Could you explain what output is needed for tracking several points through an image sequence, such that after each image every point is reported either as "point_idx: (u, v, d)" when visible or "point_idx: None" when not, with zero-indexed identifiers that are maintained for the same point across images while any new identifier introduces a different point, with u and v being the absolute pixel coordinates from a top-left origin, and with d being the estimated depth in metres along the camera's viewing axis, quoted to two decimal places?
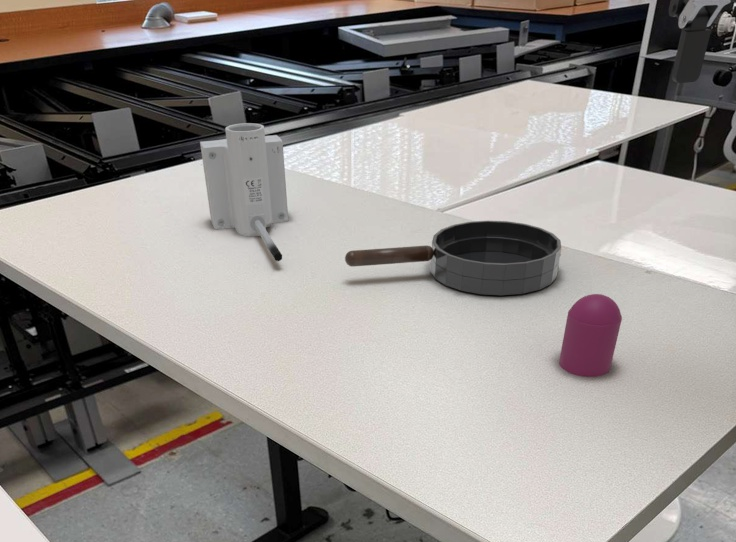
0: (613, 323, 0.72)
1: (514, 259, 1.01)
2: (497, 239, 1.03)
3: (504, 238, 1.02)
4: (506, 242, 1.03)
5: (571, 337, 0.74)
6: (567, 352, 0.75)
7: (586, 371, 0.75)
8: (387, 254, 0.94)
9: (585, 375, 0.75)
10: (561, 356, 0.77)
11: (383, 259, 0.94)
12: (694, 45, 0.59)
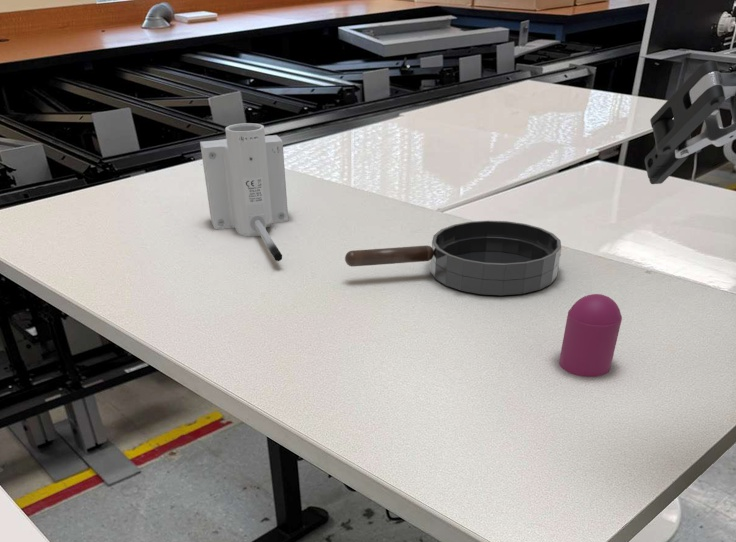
0: (613, 323, 0.72)
1: (514, 259, 1.01)
2: (497, 239, 1.03)
3: (504, 238, 1.02)
4: (506, 242, 1.03)
5: (571, 337, 0.74)
6: (567, 352, 0.75)
7: (586, 371, 0.75)
8: (387, 254, 0.94)
9: (585, 375, 0.75)
10: (561, 356, 0.77)
11: (383, 259, 0.94)
12: None
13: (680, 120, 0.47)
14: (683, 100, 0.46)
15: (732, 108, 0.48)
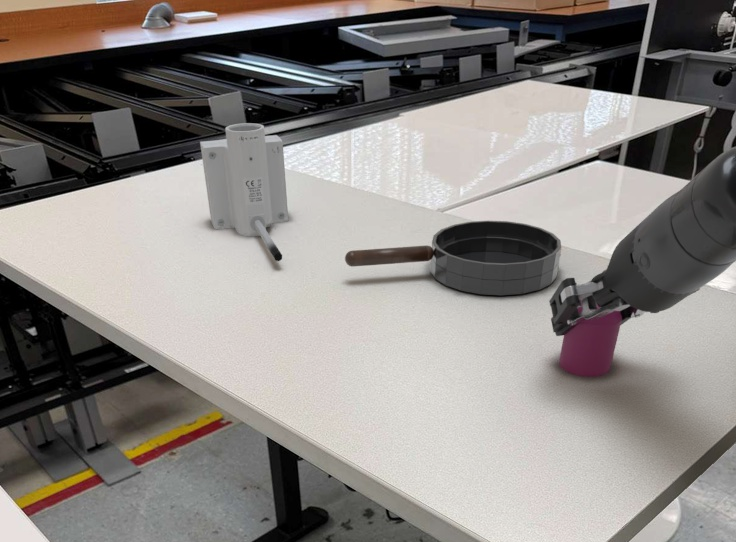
0: (613, 323, 0.72)
1: (514, 259, 1.01)
2: (497, 239, 1.03)
3: (504, 238, 1.02)
4: (506, 242, 1.03)
5: (571, 337, 0.74)
6: (567, 352, 0.75)
7: (586, 371, 0.75)
8: (387, 254, 0.94)
9: (585, 375, 0.75)
10: (561, 356, 0.77)
11: (383, 259, 0.94)
12: None
13: (559, 310, 0.68)
14: (559, 298, 0.68)
15: None
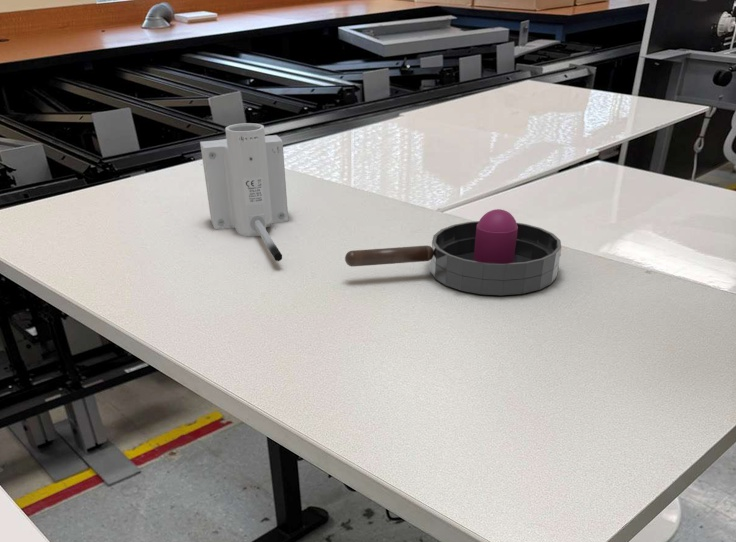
0: (510, 231, 0.93)
1: (514, 259, 1.01)
2: None
3: None
4: None
5: (479, 244, 0.95)
6: (477, 257, 0.96)
7: None
8: (387, 254, 0.94)
9: None
10: None
11: (383, 259, 0.94)
12: None
13: None
14: None
15: None
